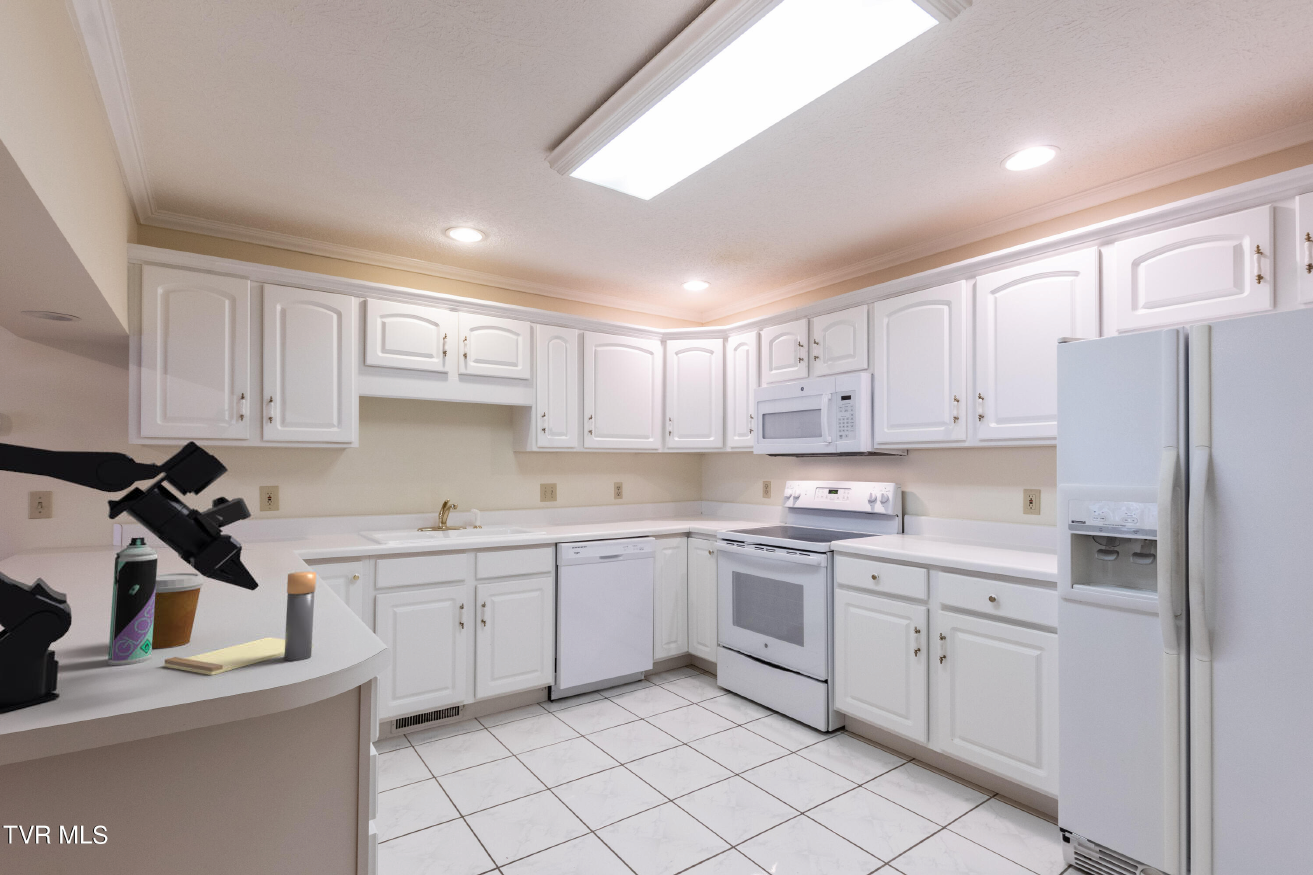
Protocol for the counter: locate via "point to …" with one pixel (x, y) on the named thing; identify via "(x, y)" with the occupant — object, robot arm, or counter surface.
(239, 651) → the legal pad
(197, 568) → the robot arm
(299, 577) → the ball
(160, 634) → the disposable coffee cup
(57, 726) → the counter surface
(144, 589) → the spray can
